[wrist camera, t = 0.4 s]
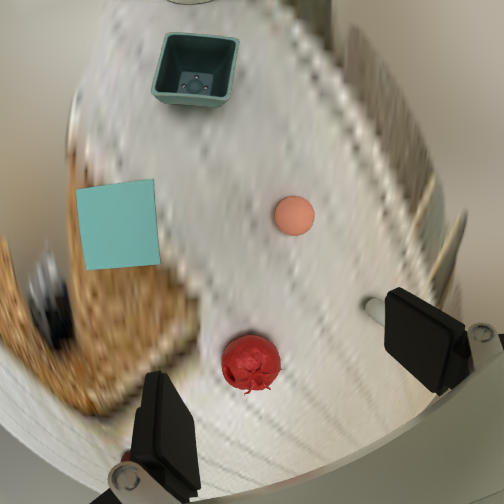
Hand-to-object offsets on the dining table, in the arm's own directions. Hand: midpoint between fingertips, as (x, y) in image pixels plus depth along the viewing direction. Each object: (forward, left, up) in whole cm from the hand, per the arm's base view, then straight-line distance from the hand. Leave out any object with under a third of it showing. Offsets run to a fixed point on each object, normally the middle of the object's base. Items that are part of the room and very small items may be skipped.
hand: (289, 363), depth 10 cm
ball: (-2, +10, -27) cm, 29 cm away
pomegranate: (+21, +3, -30) cm, 37 cm away
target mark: (-2, -15, -30) cm, 33 cm away
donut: (+16, +28, -30) cm, 44 cm away
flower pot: (-21, -3, -30) cm, 37 cm away
